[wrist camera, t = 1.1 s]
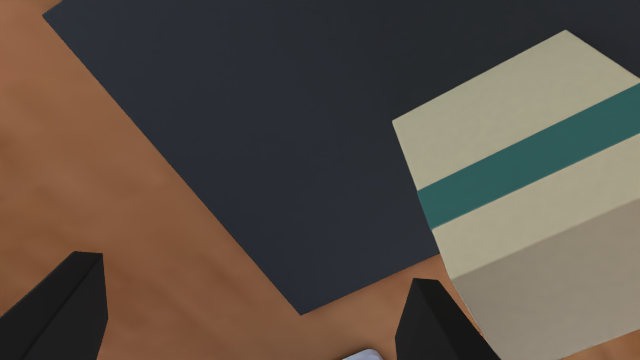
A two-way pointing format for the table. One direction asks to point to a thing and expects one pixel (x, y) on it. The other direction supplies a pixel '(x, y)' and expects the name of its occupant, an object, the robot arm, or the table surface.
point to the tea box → (536, 197)
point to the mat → (312, 110)
